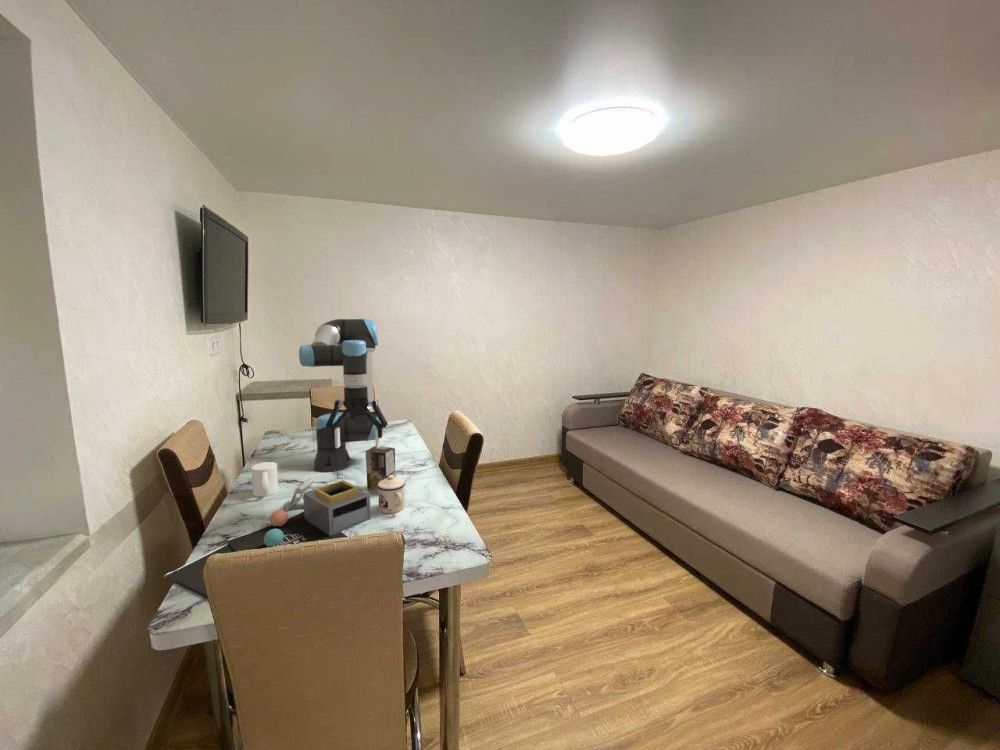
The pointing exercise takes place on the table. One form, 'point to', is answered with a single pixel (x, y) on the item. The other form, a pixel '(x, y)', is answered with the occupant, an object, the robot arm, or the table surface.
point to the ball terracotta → (278, 518)
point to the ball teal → (273, 537)
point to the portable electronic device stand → (299, 490)
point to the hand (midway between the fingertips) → (357, 447)
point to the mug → (264, 479)
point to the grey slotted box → (337, 507)
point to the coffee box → (379, 466)
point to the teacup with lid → (391, 495)
